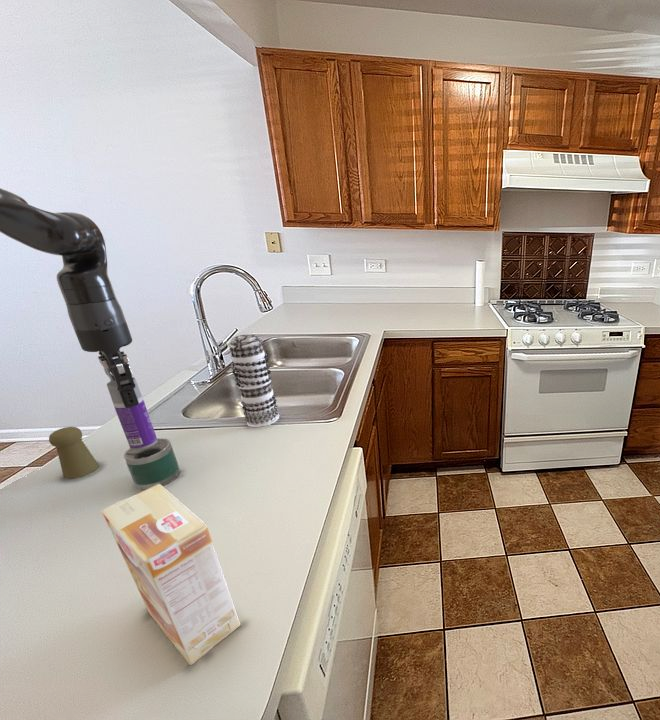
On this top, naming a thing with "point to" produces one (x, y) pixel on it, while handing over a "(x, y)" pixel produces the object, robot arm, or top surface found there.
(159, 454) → the tin can
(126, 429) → the container
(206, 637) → the coffeecake box
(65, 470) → the cork
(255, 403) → the decorative candle
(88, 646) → the top surface
